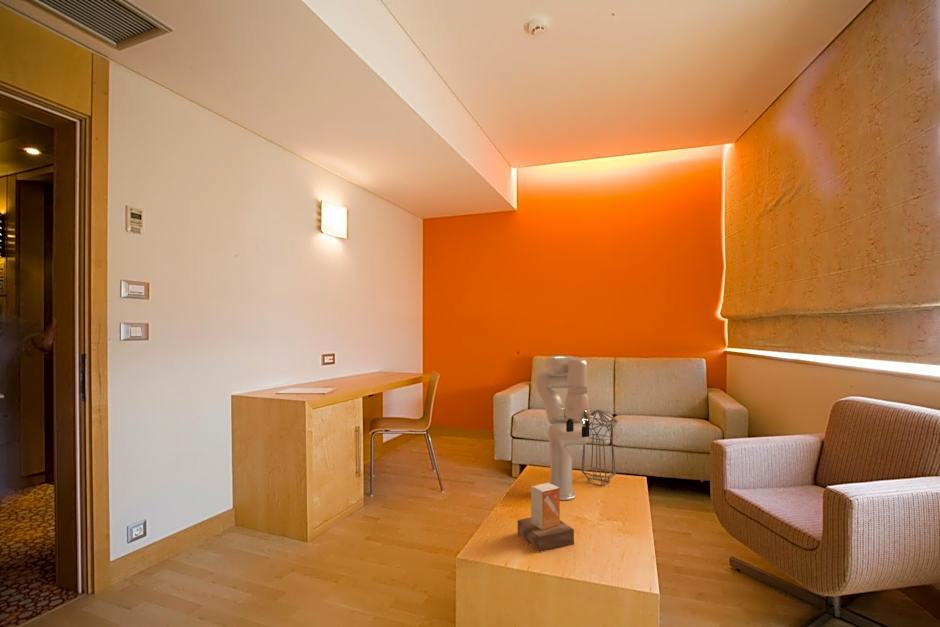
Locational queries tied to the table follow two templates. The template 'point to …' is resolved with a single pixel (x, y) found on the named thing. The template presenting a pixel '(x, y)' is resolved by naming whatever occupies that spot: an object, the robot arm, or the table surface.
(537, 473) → the table surface
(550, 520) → the small box
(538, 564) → the table surface
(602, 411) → the geometric lantern
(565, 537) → the walnut plinth
